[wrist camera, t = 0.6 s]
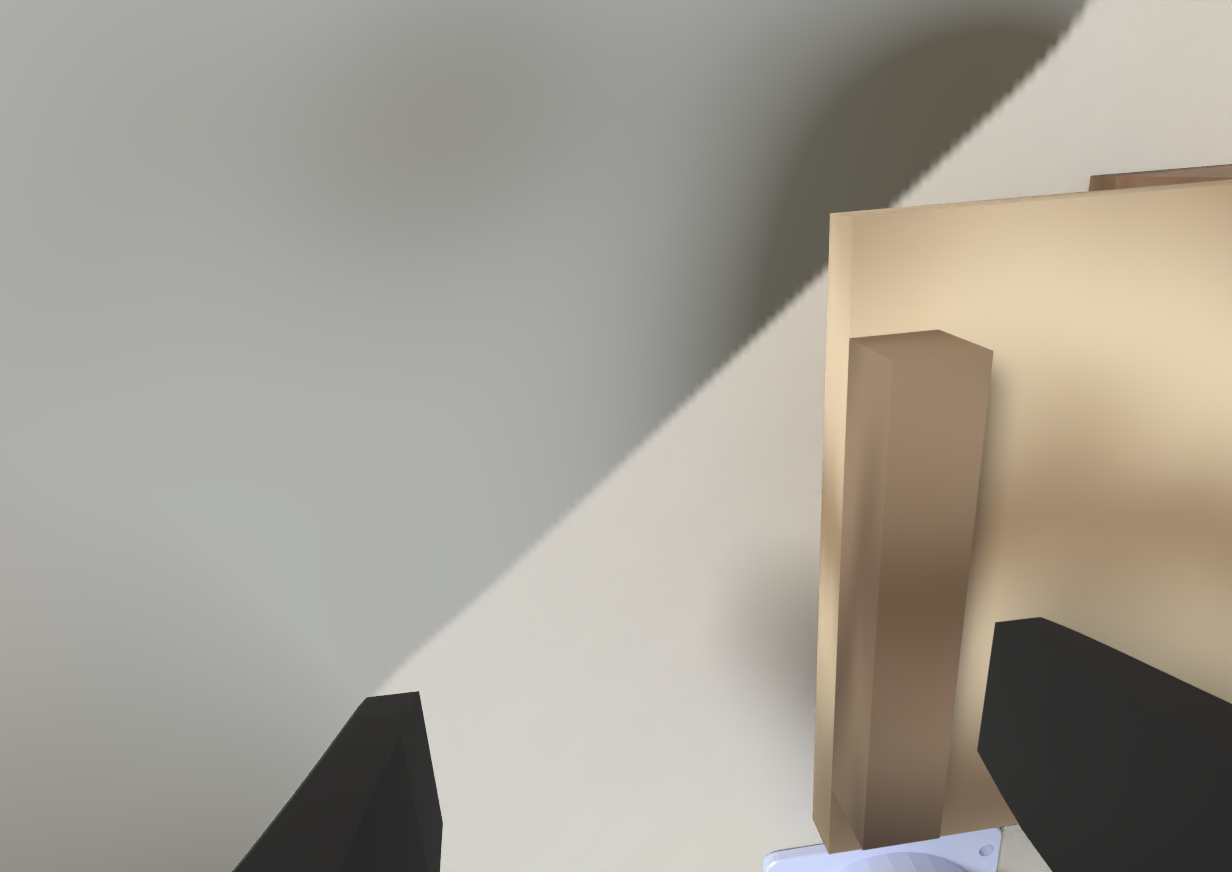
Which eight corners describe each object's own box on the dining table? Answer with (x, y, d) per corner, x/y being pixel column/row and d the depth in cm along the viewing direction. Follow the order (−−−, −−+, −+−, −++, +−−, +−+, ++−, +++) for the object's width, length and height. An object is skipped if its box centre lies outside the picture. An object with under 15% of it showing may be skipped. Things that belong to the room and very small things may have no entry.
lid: (1269, 747, 19) (1380, 834, 16) (812, 818, 18) (858, 921, 15) (1446, 161, 14) (1644, 159, 11) (830, 213, 13) (901, 223, 10)
